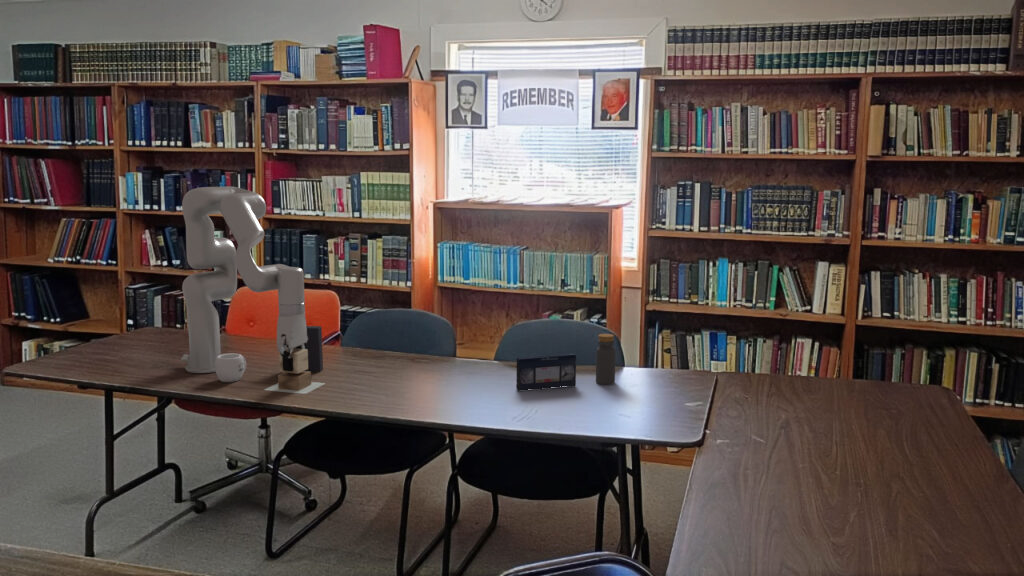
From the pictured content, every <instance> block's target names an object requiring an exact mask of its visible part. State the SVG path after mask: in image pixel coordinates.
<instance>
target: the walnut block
mask: <svg viewBox="0 0 1024 576" xmlns="http://www.w3.org/2000/svg"><path fill="white" fill-rule="evenodd" d="M311 382H312V372H310V371H302V372H300V373H298V374H296V373H285V372H282V373H281V374H278V375H277V383H278V388H279V389H288V390H299V391H300V390H301V389H303V388H305V387H307V386H309V385H311Z"/></svg>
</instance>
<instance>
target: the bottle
mask: <svg viewBox="0 0 1024 576" xmlns="http://www.w3.org/2000/svg"><path fill="white" fill-rule="evenodd" d="M614 338H615V337H614V334H611V333H600V334H598V340H597V345H599V346H598V347H597V348H596V352H595V353H596V354H595V355H596V356H595V357H596V359H595V363H596V364H595V383H596V384H598V385H602V386H609V385H610V386H611V385H614V384H615V382H616V381H615V380H616V348H615V347H614V345H615V341H614Z"/></svg>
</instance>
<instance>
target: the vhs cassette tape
mask: <svg viewBox="0 0 1024 576" xmlns="http://www.w3.org/2000/svg"><path fill="white" fill-rule="evenodd" d="M576 376H577V355H576V353H559V354H556V353H555V354H546V355H536V356H535V355H532V356H531V355H530V356H520V357H516V384H515V386H516V390H517V389H518V390H528V389H540V390H543V389H542V388H551V387H560V386H561V387H562V386H575V387H576V386H577V383H576V382H577V381H576V379H577V377H576ZM518 390H517V391H518ZM528 391H529V390H528Z"/></svg>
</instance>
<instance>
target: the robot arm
mask: <svg viewBox="0 0 1024 576" xmlns="http://www.w3.org/2000/svg"><path fill="white" fill-rule="evenodd" d="M181 205H182V206H181V208H182V215H183V219H184V224H185V241H186V242H185V245H186V246H185V247H186V261H187V264H188V265H189V266H190V268H192V269H194V270H195V269H196V270H204V269H212V268H213V269H214V270H212V271H211V270H210V271H204V272H197V273H193V274H191V275H188V276H187V277H186V278H185V279H184V280H183V282H182V286H181V289H182V294H183V297H184V302H185V305H186V306H185V308H186V315H187V317H186V318H187V328H188V329H187V330H188V332H187V333H188V345H189V346H188V347H189V354H182V357H181V358H180V361H181V362H186V363H187V364H186V366H185V371H186V372H188V373H192V374H210V373H216V370H215V359H216V357H217V356H219V355H222V353H221V352H222V350H221V334H220V333H221V332H220V316H219V312H218V310H217V309H216V307H215V306H214V303H213V302H215V301H220V300H224V299H225V300H226V299H229V298H231V297H233V296H234V295H235V293H236V292H237V288H238V274H239V277H241V278H242V280H243V283H244V284H245V286H246V287H247V288H248V289H249V290H250V291H252V292H253V293H263V292H269V291H276V290H277V292H278V293H277V295H278V296H277V297H278V317H277V322H276V346H277V348H276V349H277V351H278V353H279V352H280V354H281V357H282V360H283V371H293V358H291V357H292V350H293V348H297V349H305V347H306V343H307V341H308V337H307V327H306V326H307V320H306V306H305V297H306V296H305V276H304V270H303V268H301V267H298V266H297V267H296V266H288V265H286V264H282V263H276V264H268V265H260V266H258V265H257V263H256V262H255V260H254V258H253V255H252V249H253V248H254V247H256V246H257V245H258V244H259V243H261V242H262V241H263V240H264V238H265V231H264V228H263V227H262V225H261V223H260V222H259V220H260V219H262V218H264V216H265V215H266V213H267V205H266V201H265V199H264V198H263V197H262V195H260V194H259V193H257V192H255V191H252V190H248V189H244V188H241V187H236V186H227V185H226V186H203V187H202V186H201V187H197V188H192V189H190V190H188V191H187V192H186V193H185V194H184V196H183V199H182V203H181ZM218 214H221V215H222V218H223V219H224V221H225V223H226V225H227V226H228V228H229V230H230V232H231V233H232V235H233V238H234V239H235V241H236V242H237V244H238V245H237V249H236V246H235V244H234V243H233V241H232V240H231V239H229V238H227V237H221V236H220V237H215V225H214V222H213V221H212V219H211V218H210V217H211V216H209V215H218ZM286 346H289V347H286ZM286 350H289V352H287V351H286Z"/></svg>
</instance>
